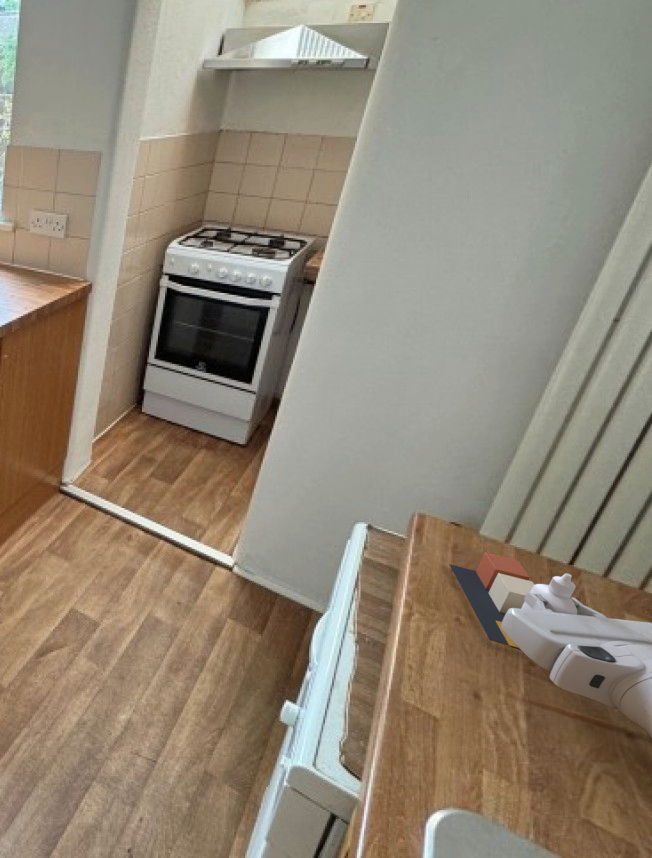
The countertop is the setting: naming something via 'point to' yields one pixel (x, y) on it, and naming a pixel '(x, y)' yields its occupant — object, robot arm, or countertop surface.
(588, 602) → the countertop surface
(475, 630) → the countertop surface
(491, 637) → the word mat
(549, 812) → the countertop surface
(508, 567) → the terracotta letter block
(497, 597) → the cream cube
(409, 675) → the countertop surface
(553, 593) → the eye dropper bottle
